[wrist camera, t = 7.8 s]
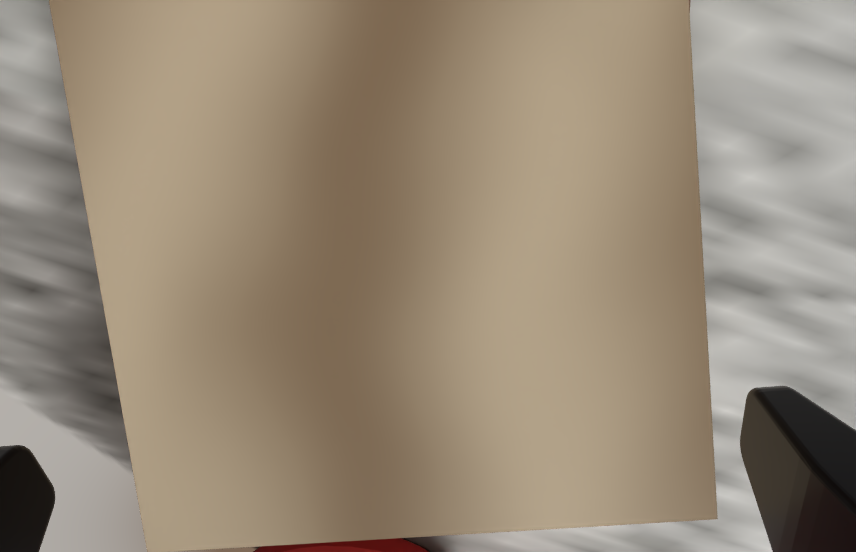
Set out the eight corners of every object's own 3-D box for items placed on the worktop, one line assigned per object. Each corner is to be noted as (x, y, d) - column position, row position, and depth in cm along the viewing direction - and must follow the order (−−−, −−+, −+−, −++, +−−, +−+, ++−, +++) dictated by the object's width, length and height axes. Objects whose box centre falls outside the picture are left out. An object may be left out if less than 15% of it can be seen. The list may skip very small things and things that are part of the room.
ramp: (659, -189, 10) (826, -231, 6) (637, 360, 16) (711, 561, 12) (64, -93, 11) (-203, -62, 7) (245, 393, 17) (168, 590, 13)
